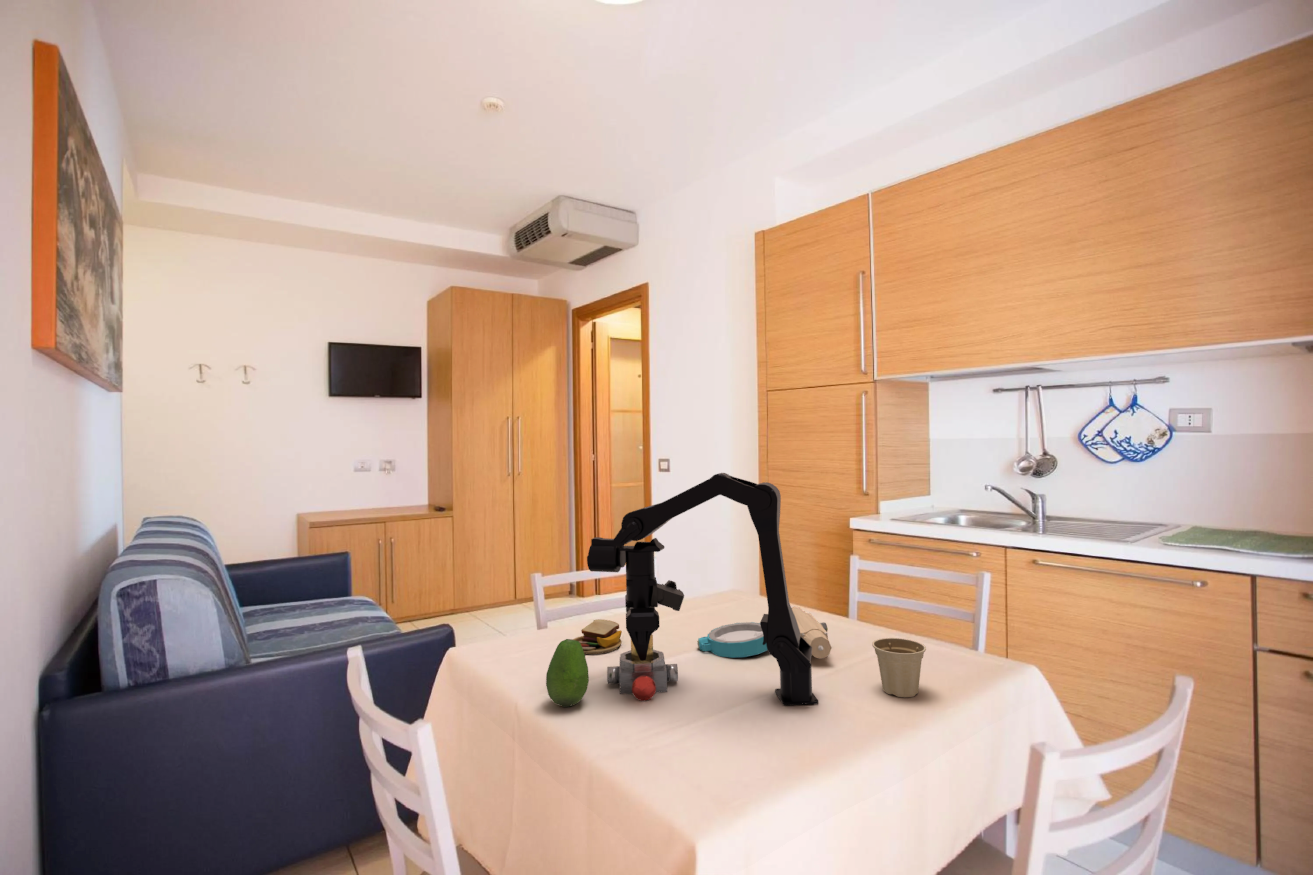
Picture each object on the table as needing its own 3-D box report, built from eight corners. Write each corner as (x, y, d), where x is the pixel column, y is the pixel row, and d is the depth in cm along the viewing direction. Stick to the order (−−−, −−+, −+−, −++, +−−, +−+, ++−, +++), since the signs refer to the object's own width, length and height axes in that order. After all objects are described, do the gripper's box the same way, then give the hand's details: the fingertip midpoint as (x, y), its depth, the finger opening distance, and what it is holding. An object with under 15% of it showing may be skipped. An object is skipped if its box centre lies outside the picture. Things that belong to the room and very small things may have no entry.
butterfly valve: (702, 683, 129) (846, 665, 128) (698, 650, 129) (841, 632, 129) (697, 642, 156) (816, 627, 155) (693, 615, 156) (812, 600, 155)
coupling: (654, 667, 120) (653, 638, 120) (631, 668, 120) (630, 639, 120) (652, 659, 125) (652, 631, 125) (631, 660, 124) (630, 632, 124)
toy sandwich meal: (557, 649, 145) (557, 629, 145) (596, 635, 156) (596, 616, 156) (596, 660, 137) (596, 638, 137) (635, 643, 148) (634, 624, 148)
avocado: (593, 709, 111) (591, 642, 111) (549, 716, 109) (547, 647, 109) (585, 693, 118) (584, 630, 119) (544, 698, 116) (542, 634, 116)
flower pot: (862, 686, 118) (861, 641, 119) (900, 678, 122) (898, 634, 122) (899, 705, 110) (898, 656, 110) (938, 695, 113) (937, 648, 114)
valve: (681, 698, 115) (680, 669, 115) (606, 702, 114) (606, 672, 114) (675, 673, 127) (674, 647, 127) (608, 676, 126) (607, 649, 126)
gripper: (685, 581, 114) (687, 667, 113) (676, 562, 132) (678, 635, 132) (625, 584, 113) (627, 669, 113) (624, 564, 132) (626, 638, 132)
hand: (642, 651), depth 122 cm, fingers open, 9 cm apart
